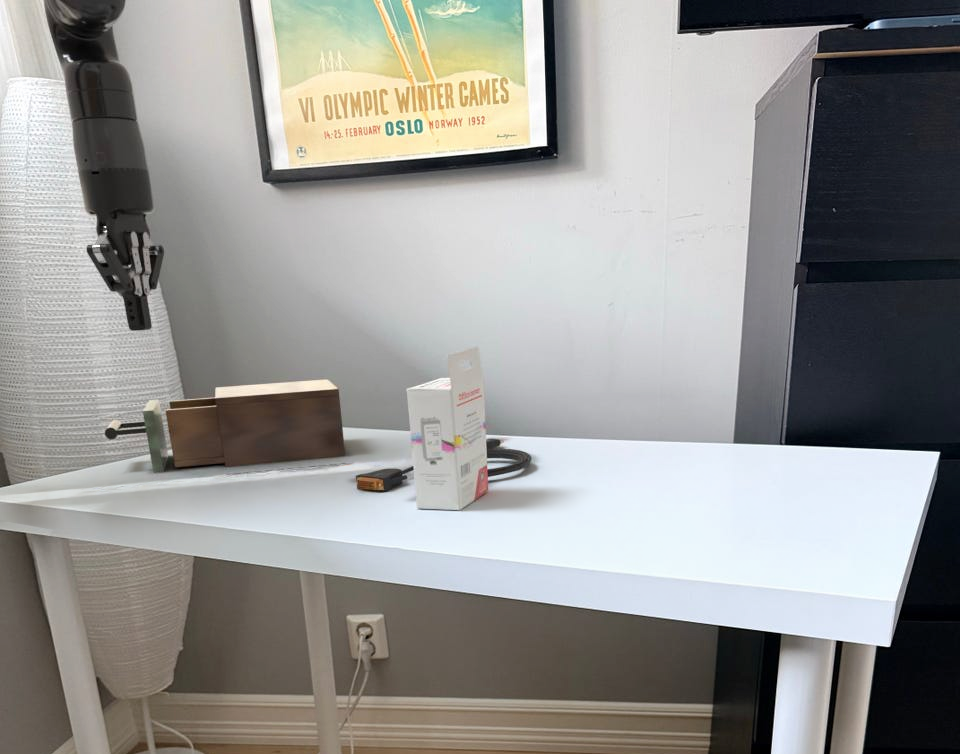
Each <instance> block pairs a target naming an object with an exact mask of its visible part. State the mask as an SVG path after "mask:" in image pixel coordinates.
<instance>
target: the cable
mask: <svg viewBox="0 0 960 754" xmlns="http://www.w3.org/2000/svg"><path fill="white" fill-rule="evenodd" d="M504 443H505V441H504V439H502V438H486V448H487V459H503V460H513V461H516V463H513V464H510V465H505V466H500V467H494V468H487V472H488V478H491V477H496V476H501V475H506V474H511V473H514V472H518V471H520V470H522V469H524V468H526V467H527V466H528V465H530V464H531V462H532V455H531V454H529V453H528V452H526V451H523V450H520V449H514V448H513V449H512V448H497V447H500V446H501V444H504ZM413 471H414V467H413V465H412V466H410V467H408V468H405V469H403V470H402V468H395V467H393V468H391V467H390V468H389V467H388V468H383V469H378V470H374V471H370V472H365V473H360V474H356V475H355V481H356V482H355V484H356V489H357V490H366V491H372V492H383V493H384V492H385V493H386V492H388V491H390V490H392V489H394V488H396V487H398V486H401V485H402V484H404V483H403V481H406V480H408V476H407V475H406V474H407V473H410V472H413Z"/></svg>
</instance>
